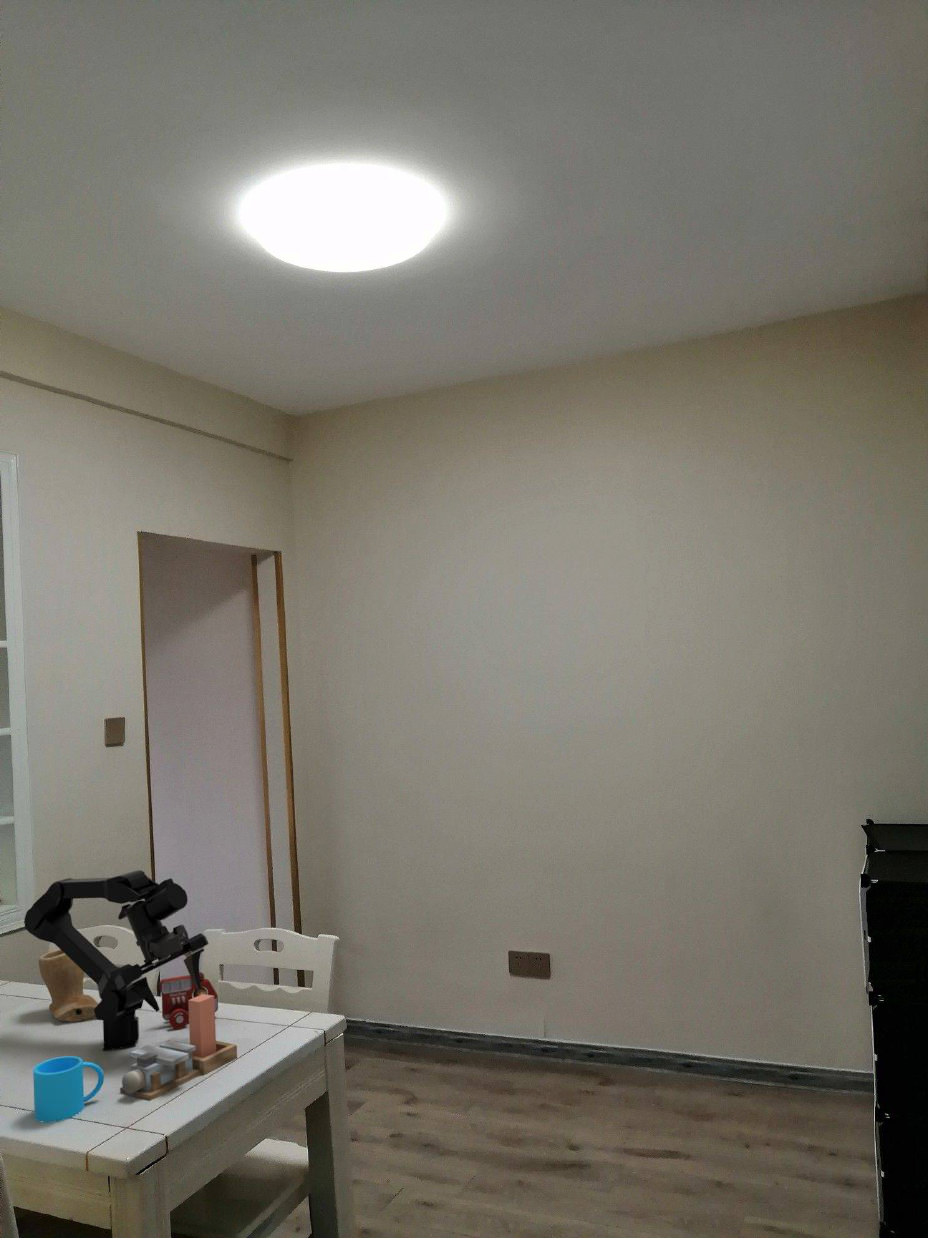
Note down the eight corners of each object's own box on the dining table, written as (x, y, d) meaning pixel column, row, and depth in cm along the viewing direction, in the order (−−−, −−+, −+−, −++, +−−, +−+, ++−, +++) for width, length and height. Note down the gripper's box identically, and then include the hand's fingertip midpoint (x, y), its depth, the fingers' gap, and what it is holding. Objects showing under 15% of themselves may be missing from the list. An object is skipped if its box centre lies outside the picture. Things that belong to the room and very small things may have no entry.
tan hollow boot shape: (36, 1012, 232) (34, 947, 233) (90, 1001, 238) (88, 937, 239) (47, 1031, 219) (45, 961, 220) (103, 1018, 225) (101, 951, 226)
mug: (41, 1127, 171) (39, 1079, 172) (29, 1111, 178) (28, 1065, 178) (111, 1106, 179) (110, 1059, 179) (97, 1091, 185) (96, 1047, 185)
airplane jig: (199, 1050, 203) (198, 1019, 204) (240, 1058, 198) (238, 1026, 198) (108, 1094, 184) (107, 1060, 184) (150, 1105, 178) (149, 1069, 178)
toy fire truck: (221, 1022, 219) (219, 974, 220) (163, 1033, 214) (161, 984, 215) (215, 1012, 226) (214, 966, 226) (159, 1023, 221) (157, 975, 221)
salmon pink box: (190, 1065, 196) (188, 1000, 196) (205, 1057, 199) (203, 994, 200) (201, 1067, 194) (199, 1002, 195) (216, 1060, 198) (214, 996, 198)
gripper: (116, 939, 195) (147, 1014, 191) (201, 900, 207) (232, 970, 203) (101, 952, 203) (131, 1025, 199) (184, 914, 215) (214, 982, 211)
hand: (178, 1000), depth 203 cm, fingers open, 9 cm apart
